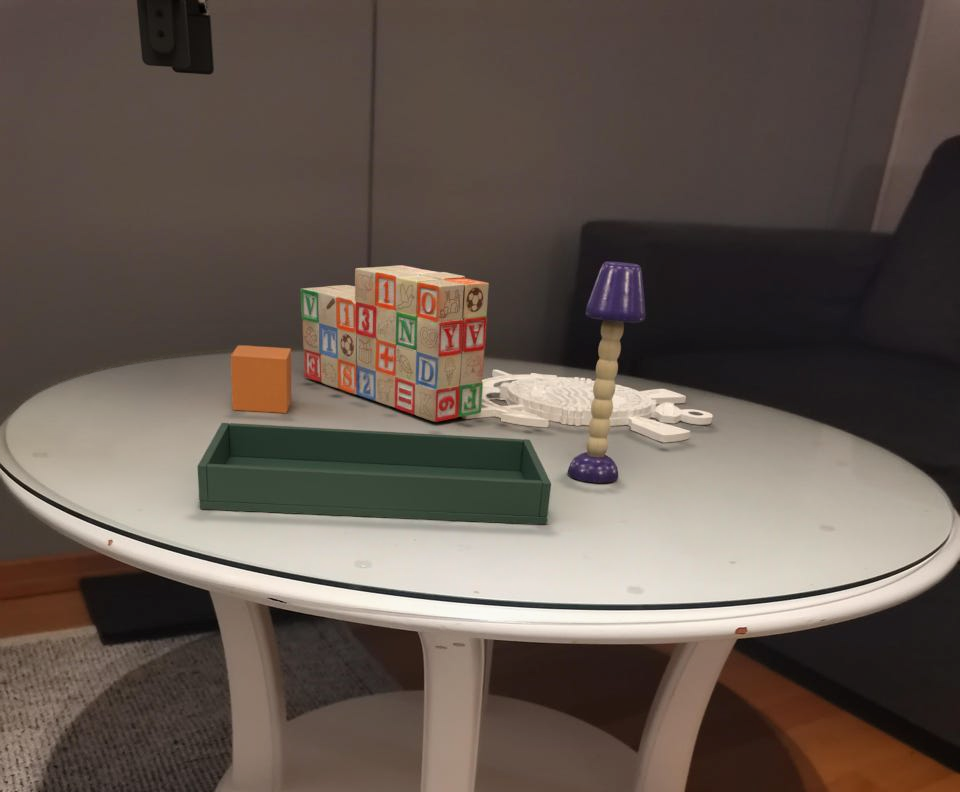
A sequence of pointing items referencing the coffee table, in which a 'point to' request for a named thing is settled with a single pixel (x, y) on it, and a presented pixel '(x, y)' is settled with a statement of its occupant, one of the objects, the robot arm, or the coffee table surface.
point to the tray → (373, 474)
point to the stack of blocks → (400, 339)
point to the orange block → (261, 379)
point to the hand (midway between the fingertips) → (180, 69)
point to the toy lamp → (608, 361)
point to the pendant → (584, 405)
